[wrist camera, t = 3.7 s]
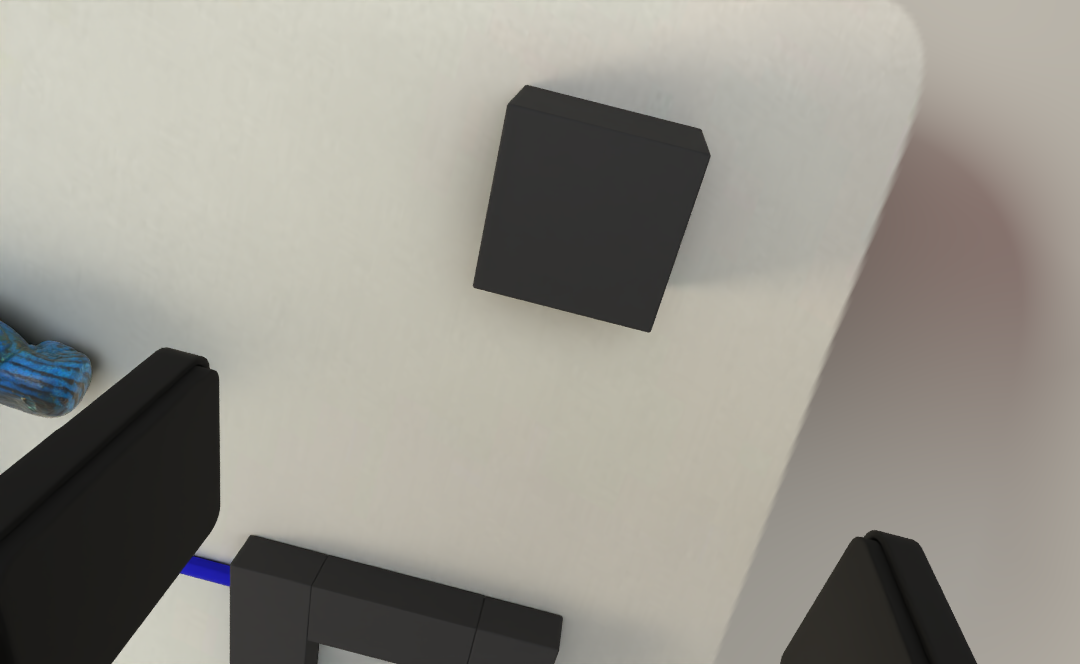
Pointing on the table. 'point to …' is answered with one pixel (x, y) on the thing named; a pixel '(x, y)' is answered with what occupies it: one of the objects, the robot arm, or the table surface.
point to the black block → (588, 207)
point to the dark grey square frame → (371, 614)
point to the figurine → (41, 375)
